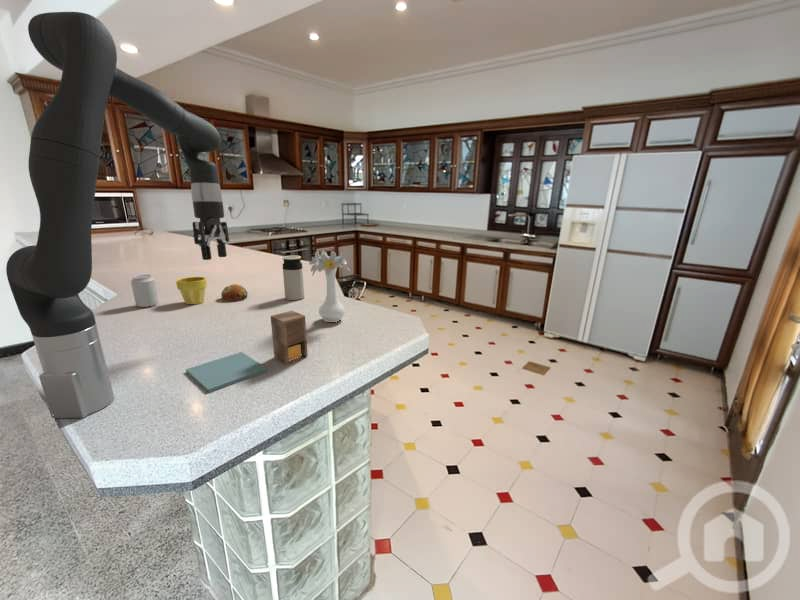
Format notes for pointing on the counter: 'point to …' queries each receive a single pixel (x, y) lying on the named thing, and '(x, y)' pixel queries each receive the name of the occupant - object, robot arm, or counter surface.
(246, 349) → the counter surface
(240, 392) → the counter surface
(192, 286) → the plant pot
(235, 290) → the bread roll
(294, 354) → the orange block
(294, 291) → the travel mug
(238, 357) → the teal mat
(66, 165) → the robot arm
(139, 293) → the can
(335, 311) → the flower vase
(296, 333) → the walnut cover
